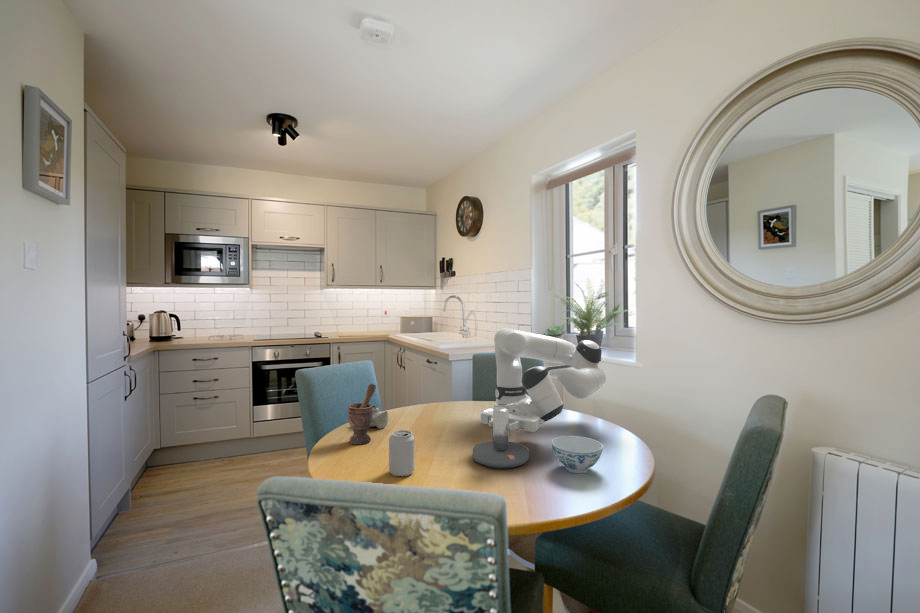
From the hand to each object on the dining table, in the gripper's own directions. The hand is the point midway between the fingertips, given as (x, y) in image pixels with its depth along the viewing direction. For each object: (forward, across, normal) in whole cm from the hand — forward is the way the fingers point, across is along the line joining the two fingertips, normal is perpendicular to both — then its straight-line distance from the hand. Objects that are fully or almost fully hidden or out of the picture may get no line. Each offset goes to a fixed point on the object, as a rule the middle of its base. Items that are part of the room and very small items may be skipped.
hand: (499, 425), depth 135 cm
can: (+24, +20, -11) cm, 33 cm away
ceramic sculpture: (-6, +61, -11) cm, 62 cm away
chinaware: (-7, -23, -11) cm, 26 cm away
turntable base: (-1, 0, -11) cm, 11 cm away
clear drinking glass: (-1, 0, -7) cm, 7 cm away
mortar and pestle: (+9, +52, -11) cm, 54 cm away
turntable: (-1, 0, -10) cm, 10 cm away
